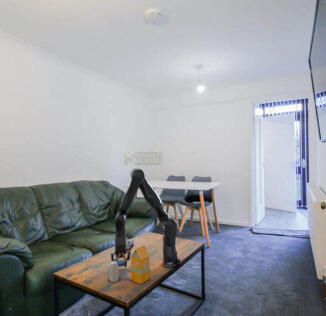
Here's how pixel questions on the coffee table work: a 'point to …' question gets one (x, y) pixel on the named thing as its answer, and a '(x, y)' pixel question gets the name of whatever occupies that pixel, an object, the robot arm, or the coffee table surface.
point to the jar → (113, 271)
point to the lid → (121, 263)
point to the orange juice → (140, 265)
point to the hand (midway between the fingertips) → (120, 267)
